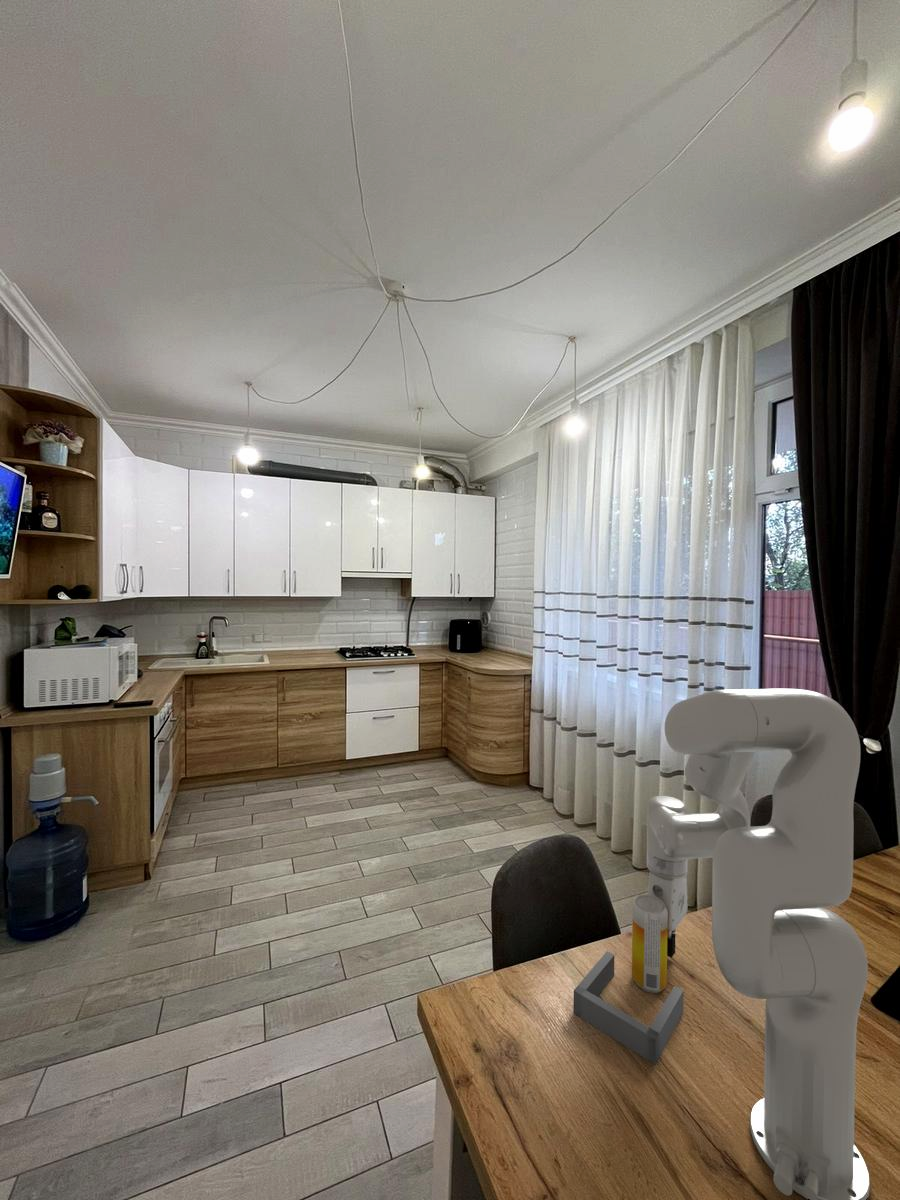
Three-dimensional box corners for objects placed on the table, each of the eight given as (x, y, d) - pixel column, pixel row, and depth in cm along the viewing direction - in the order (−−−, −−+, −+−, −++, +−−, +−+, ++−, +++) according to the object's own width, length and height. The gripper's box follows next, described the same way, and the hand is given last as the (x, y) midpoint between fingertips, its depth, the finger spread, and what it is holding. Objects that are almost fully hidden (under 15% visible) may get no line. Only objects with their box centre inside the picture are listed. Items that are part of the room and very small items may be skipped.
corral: (655, 1065, 77) (655, 1039, 77) (573, 1013, 86) (573, 990, 86) (683, 1013, 87) (683, 990, 87) (606, 971, 96) (606, 951, 96)
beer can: (660, 971, 96) (661, 894, 96) (671, 996, 90) (672, 914, 90) (628, 969, 97) (629, 892, 97) (636, 993, 91) (637, 912, 91)
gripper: (673, 884, 92) (672, 983, 92) (698, 854, 103) (697, 942, 103) (633, 869, 97) (632, 962, 97) (661, 841, 108) (660, 925, 108)
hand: (665, 952), depth 100 cm, fingers closed
